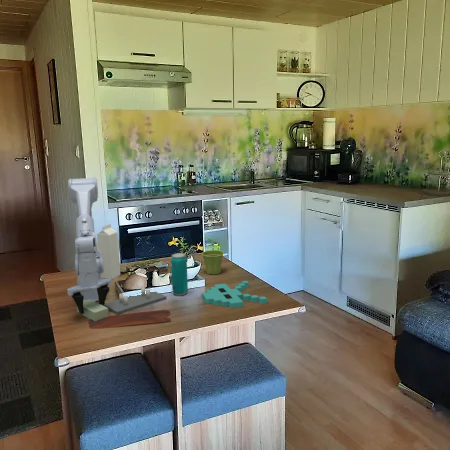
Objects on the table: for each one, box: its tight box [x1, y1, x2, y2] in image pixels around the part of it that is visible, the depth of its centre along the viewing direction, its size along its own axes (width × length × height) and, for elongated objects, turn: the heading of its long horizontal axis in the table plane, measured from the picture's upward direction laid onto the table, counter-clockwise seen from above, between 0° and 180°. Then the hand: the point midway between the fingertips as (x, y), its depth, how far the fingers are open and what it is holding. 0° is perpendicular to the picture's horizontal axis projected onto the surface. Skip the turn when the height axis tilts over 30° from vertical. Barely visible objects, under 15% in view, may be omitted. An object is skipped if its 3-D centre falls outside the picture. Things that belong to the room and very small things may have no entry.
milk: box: [96, 223, 121, 280], centre depth 189 cm, size 6×6×22 cm
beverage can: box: [170, 252, 189, 296], centre depth 168 cm, size 6×6×15 cm
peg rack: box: [104, 287, 167, 315], centre depth 161 cm, size 10×20×4 cm, turn 132°
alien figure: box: [201, 280, 268, 309], centre depth 165 cm, size 20×2×20 cm
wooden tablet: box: [88, 309, 172, 330], centre depth 148 cm, size 27×10×2 cm, turn 100°
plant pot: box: [201, 249, 225, 275], centre depth 193 cm, size 9×9×9 cm
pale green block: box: [76, 299, 110, 321], centre depth 152 cm, size 12×5×4 cm, turn 45°
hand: (91, 310), depth 152 cm, fingers open, 7 cm apart
